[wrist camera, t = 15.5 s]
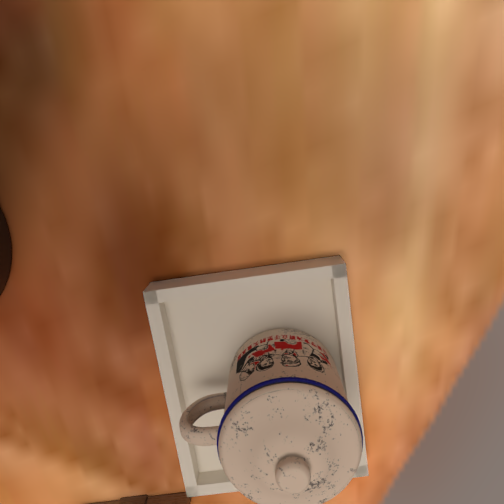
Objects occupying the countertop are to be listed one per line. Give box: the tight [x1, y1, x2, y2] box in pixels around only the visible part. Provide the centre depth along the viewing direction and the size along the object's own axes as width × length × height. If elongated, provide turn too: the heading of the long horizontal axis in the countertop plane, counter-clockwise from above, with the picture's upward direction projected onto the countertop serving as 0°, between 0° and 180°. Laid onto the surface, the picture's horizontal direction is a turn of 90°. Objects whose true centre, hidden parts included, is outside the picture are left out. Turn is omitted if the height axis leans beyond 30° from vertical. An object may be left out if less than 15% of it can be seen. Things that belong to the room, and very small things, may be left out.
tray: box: [143, 255, 369, 497], centre depth 36 cm, size 15×18×2 cm
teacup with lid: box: [179, 329, 363, 504], centre depth 31 cm, size 12×9×12 cm
